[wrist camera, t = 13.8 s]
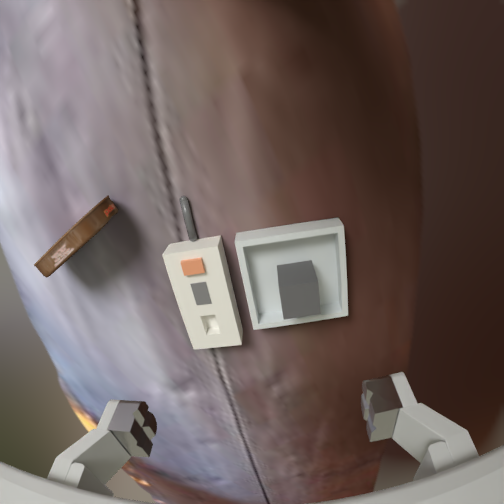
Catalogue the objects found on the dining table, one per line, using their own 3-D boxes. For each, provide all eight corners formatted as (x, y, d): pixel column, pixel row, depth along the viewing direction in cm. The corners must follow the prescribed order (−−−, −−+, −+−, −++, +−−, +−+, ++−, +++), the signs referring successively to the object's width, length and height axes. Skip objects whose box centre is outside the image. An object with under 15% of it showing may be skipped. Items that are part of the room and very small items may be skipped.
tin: (117, 187, 39) (86, 206, 31) (130, 206, 40) (103, 229, 32) (53, 245, 43) (22, 270, 35) (65, 261, 44) (36, 288, 36)
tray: (236, 232, 41) (234, 241, 38) (338, 217, 40) (343, 225, 37) (254, 317, 46) (253, 329, 44) (343, 303, 45) (348, 315, 42)
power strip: (157, 200, 40) (147, 210, 36) (210, 190, 39) (205, 198, 35) (197, 334, 48) (193, 352, 44) (242, 329, 47) (241, 347, 44)
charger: (276, 260, 42) (278, 287, 36) (310, 255, 42) (318, 281, 35) (280, 289, 44) (283, 319, 37) (313, 284, 43) (320, 314, 37)
